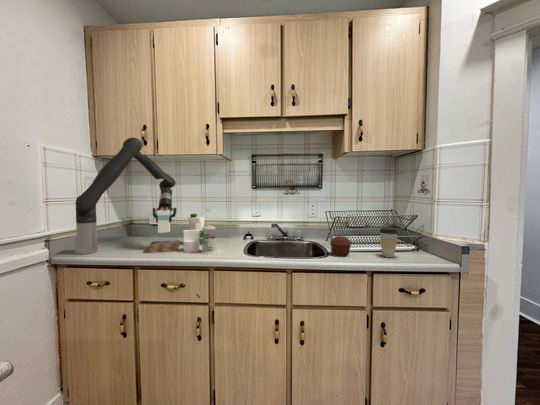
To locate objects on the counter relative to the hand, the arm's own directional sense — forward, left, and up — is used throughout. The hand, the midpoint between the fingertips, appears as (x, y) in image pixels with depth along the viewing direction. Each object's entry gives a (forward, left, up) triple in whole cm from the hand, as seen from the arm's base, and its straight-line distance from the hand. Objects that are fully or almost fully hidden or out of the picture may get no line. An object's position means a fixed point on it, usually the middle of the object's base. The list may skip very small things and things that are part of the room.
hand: (163, 221), depth 144 cm
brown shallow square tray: (0, +2, -17) cm, 17 cm away
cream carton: (0, +2, -6) cm, 6 cm away
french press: (+25, -12, -17) cm, 33 cm away
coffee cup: (+119, -50, -17) cm, 130 cm away
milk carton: (+19, +11, -17) cm, 28 cm away
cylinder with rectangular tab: (+16, -6, -17) cm, 24 cm away
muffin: (+96, -40, -17) cm, 105 cm away
